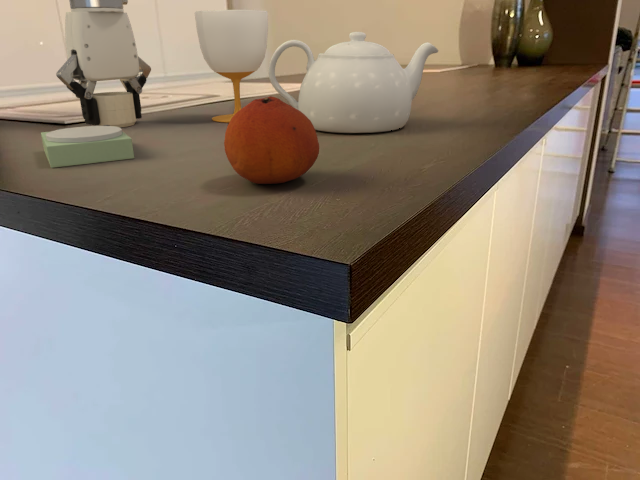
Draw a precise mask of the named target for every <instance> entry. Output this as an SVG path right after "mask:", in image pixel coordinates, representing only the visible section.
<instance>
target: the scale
mask: <svg viewBox="0 0 640 480" xmlns="http://www.w3.org/2000/svg"><path fill="white" fill-rule="evenodd" d="M40 136H41V141H42V147H43V151H44V154H45V157H46V159H47V162H48V164H49V167H50V168H51V169H54V168H62V167H71V166H79V165H81V166H82V165H88V164H97V163H105V162H106V163H107V162H115V161H123V160H131V159H132V160H133V159H135V153H134V145H133V138H132V137H130V136H129V135H128V134H127V133H126V132H124V131H123V129H122V127H121V128H119V127H116V126H110V125H103V126H99V125H96V126H95V125H87V126H85V125H84V126H75V127H74V126H73V127H64V128H57V129H56V130H55V129H54V130H51V131H45V132H44V131H42V132H40Z"/></svg>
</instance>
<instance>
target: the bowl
mask: <svg viewBox="0 0 640 480" xmlns="http://www.w3.org/2000/svg"><path fill="white" fill-rule="evenodd" d="M92 97H93V99H96V100H97V105H98V112H99V118H100V124H99V126H103V125H110V126H116V127H119V128H121V129H122V128H126V127H132V126H134V125H135V124H136V122H137V119H136V114H135V107H134V100H133V93H132V92H127V91H106V92H105V91H104V92H94V93H93V96H92ZM94 126H96V125H94Z"/></svg>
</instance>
